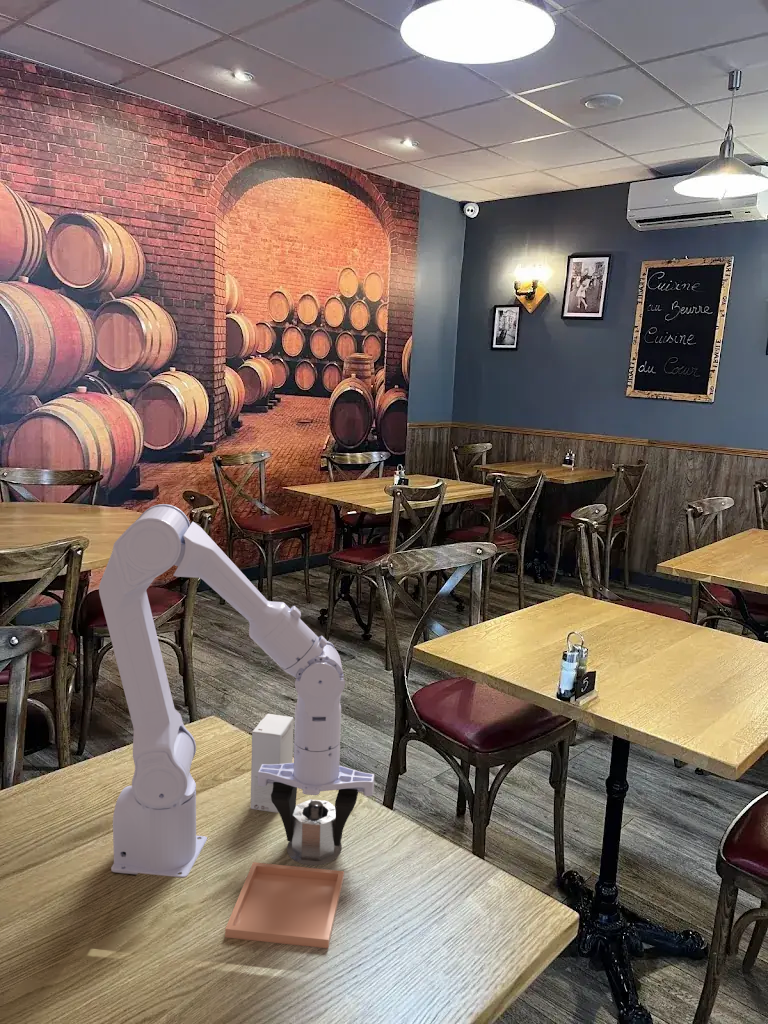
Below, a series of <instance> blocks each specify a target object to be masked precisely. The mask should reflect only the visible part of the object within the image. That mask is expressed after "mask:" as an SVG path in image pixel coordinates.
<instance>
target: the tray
mask: <svg viewBox="0 0 768 1024" xmlns="http://www.w3.org/2000/svg"><path fill="white" fill-rule="evenodd" d="M344 881H345V871H343V870H333V869H327V868H326V869H325V868H315V867H314V868H313V867H303V866H294V865H285V864H275V863H264V862H263V863H262V862H254V861H253V862H252V864H251V866H250V869H249V871H248V873H247V876H246V878H245V881H244V883H243V886H242V888H241V889H240V892H239V895H238V896H237V900H236V902H235V905H234V907H233V909H232V912H231V914H230V917H229V919H228V921H227V924H226V926H225V929H224V935H225V936H224V938H227V939H236V940H237V939H238V940H244V941H245V940H247V941H255V942H256V941H257V942H264V943H272V944H273V943H274V944H284V945H293V946H301V947H310V948H321V949H327V950H328V949H329V948H330V942H331V938H332V934H333V929H334V924H335V920H336V916H337V911H338V907H339V904H340V903H339V901H340V899H341V898H340V897H341V893H342V888H343V884H344Z"/></svg>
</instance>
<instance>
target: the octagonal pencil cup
mask: <svg viewBox="0 0 768 1024" xmlns="http://www.w3.org/2000/svg"><path fill="white" fill-rule="evenodd" d="M312 801H320V802H322V804H323V812H322V818H321V819H319V820H316V819H308V805H309V803H310V802H312ZM335 827H336V812H335V805H334V804H333V803H331V802H330V801H328V800H322V799H321V800H320V799H308V800H306V801H303V802H300V803H297V804H296V807H295V810H294V813H293V823H292V851H293V852H294V853H295V854H296V855H297V856H298V857H299V858H300V859H301V860H308V861H318V862H319V861H322V860H324V859H326V858H328V857H330V856H332V855H334V852H335V849H336V846H334V836H335Z"/></svg>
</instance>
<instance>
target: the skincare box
mask: <svg viewBox="0 0 768 1024" xmlns="http://www.w3.org/2000/svg"><path fill="white" fill-rule="evenodd" d="M294 723H295V717H293V716H289V715H279V714H272V713H267V714H265V716H264V717H263V718H262V719H261V720H260V721H259V722H258V723H257V726H255V728H254V729H253V730H252V732H251V760H250V761H251V765H250V766H251V767H250V768H251V769H250V770H251V771H250V773H251V777H250V809H251V810H259V811H264V812H272V813H275V814H276V813H278V814H279V812H278V810H277V808H276V807H275V805H274V804H273V803H272V800H271V794H272V791H273V784H267V786H258V771H259V769H260V767H261V765H262V764H267V765H273V764H285V763H293V759H294Z"/></svg>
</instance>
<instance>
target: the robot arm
mask: <svg viewBox="0 0 768 1024" xmlns="http://www.w3.org/2000/svg"><path fill="white" fill-rule="evenodd" d="M173 566H176V570H175V571H174V573H173V577H178V578H180V577H181V578H196V579H198V578H199V579H201V580H202V581H203V582H204V583H205V584H206V585H208V586H209V587H210V588H211V589H212V590H213V591H215V592H216V593H217V594H218V595H219V596H220V597H221V598H222V599H223V600H225V602H226V603H228V604H229V605H230V606H231V607H232V608H233V609H234V610H236V612H238V613H239V614H240V615H241V616H242V617H243V618H245V619H246V621H248V623H249V628H248V629H249V630H248V635H249V638H250V639H251V640H252V641H253V642H254V643H255V644H256V645H257V646H258V647H259V648H260V649H262V651H264V653H265V654H266V655H268V657H269V658H270V659H271V660H272V661H273V662H274V663H276V665H278V666H279V668H281V670H283V671H284V672H285V673H286V674H288V675H290V676H292V677H294V678H295V681H294V687H295V692H297V701H296V703H295V707H294V734H293V762H292V763H285V764H273V765H267V764H262V765H261V767H260V769H259V771H258V786H267V784H273V791H272V794H271V800H272V803H273V804H274V805H275V807H276V808H277V810H278V814H279V816H280V818H281V821H282V823H283V827H284V831H285V835H286V840H287V842H289V841H292V823H293V813H294V810H295V807H296V805H297V795H298V794H297V793H298V789H300V790H302V794H303V795H307V796H318V795H320V793H321V792H326V791H338V792H337V794H336V798H335V801H334V802H335V803H334V806H335V812H336V827H335V836H334V846H340V843H341V844H342V837H343V831H344V828H345V826H346V823H347V821H348V819H349V817H350V816H351V813H352V812H353V810H354V808H355V806H356V803H357V799H358V795H359V793H363V795H364V796H366V797H367V796H368V797H369V796H370V797H372V796H373V794H374V789H375V773H368V772H364V771H359V770H357V769H352V768H350V767H346V766H344V765H343V766H342V765H340V761H341V760H340V757H341V756H340V755H341V732H342V730H341V725H342V723H341V722H342V706H341V699H342V692H343V691H344V689H345V687H346V686H345V685H346V680H345V679H344V678H345V676H344V671H343V665H342V660H341V659H342V658H341V656H340V654H339V652H338V651H337V649H336V648H335V646H334V644H333V643H332V642H331V641H328V640H327V639H326V638H325V636H323V635H320V636H318V635H317V634H316V633H315V632H314V631H313V630H312V629H311V628H310V627H309V626H308V625H307V624H306V623H305V622H304V621H303V620H302V619H301V617H302V612H301V610H299V608H298V607H296V605H292V606H291V607H289V605H287V604H286V603H285V602H283V601H271V600H267V598H266V597H265V596H264V595H263V594H262V593H261V592H260V591H259V589H258V588H257V587H256V586H255V585H254V584H253V583H252V582H251V581H250V579H248V578H247V576H246V575H245V574H244V573H243V572H242V571H241V569H240V568H239V567H238V566H237V565H236V564H235V563H234V562H233V561H232V560H231V559H230V558H229V556H227V555H226V553H225V552H224V551H223V550H222V548H220V546H218V545H217V543H216V542H215V541H214V540H213V539H212V538H211V536H209V535H208V533H207V532H206V531H205V530H204V528H202V527H201V526H200V525H199V524H197V522H194V521H191V522H190V520H189V517H187V515H186V514H185V512H184V511H182V510H181V509H180V508H178V507H177V506H175V505H171V504H166V503H162V504H161V503H160V504H155V505H152V506H151V507H149V508H147V509H146V510H145V511H144V512H142V514H141V515H140V516H139V517H138V518H137V519H135V521H134V522H133V523H131V524H130V526H129V527H127V529H125V531H124V532H123V533H122V534H121V535H120V536H119V537H118V538H117V539H116V540H115V541H114V542H113V545H112V551H111V553H110V557H109V559H108V561H107V564H106V567H105V570H104V572H103V573H102V577H101V579H100V582H99V585H98V592H99V593H98V594H99V598H100V602H101V606H102V609H103V614H104V617H105V620H106V625H107V629H108V633H109V636H110V641H111V644H112V648H113V652H114V656H115V660H116V665H117V669H118V672H119V676H120V680H121V684H122V688H123V692H124V695H125V699H126V704H127V708H128V711H129V716H130V720H131V724H132V727H133V739H132V741H133V743H132V759H133V762H134V763H133V764H134V772H133V777H132V778H131V780H132V781H131V785H127V786H125V787H123V789H122V790H121V791H120V793H119V795H118V796H117V797H118V798H117V799H116V802H115V805H114V810H113V817H112V832H113V833H112V836H113V837H112V838H113V839H112V840H113V843H112V845H113V864H112V866H111V867H110V869H111V872H112V873H116V874H117V873H119V874H130V875H138V874H145V875H153V876H155V875H156V876H164V877H165V876H166V877H173V878H174V877H175V878H183V879H184V878H186V877H188V876H189V874H190V872H191V871H192V868H193V867H194V865H195V863H196V861H197V859H198V857H199V856H200V853H201V852H202V850H203V848H204V846H205V844H206V842H207V841H208V837H207V836H204V835H197V784H196V781H195V780H194V778H193V776H192V774H191V772H190V770H191V767H192V762H193V760H194V758H195V755H196V752H197V742H196V740H195V738H194V736H193V734H192V733H191V732H190V731H189V730H188V729H187V727H186V726H185V724H184V721H183V718H182V714H181V713H180V712H179V711H178V710H177V709H176V707H175V705H174V701H173V700H174V699H173V696H172V693H171V688H170V683H169V680H168V676H167V670H166V667H165V663H164V658H163V656H162V651H161V646H160V642H159V638H158V635H157V629H156V627H155V626H156V625H155V622H154V618H153V617H154V616H153V614H152V608H151V605H150V601H149V597H148V592H147V589H148V588H149V587H150V585H151V584H152V583H153V582H154V580H155V579H156V578H157V577H159V576H161V575H163V574H164V573H166V572H168V570H170V569H171V568H172V567H173Z"/></svg>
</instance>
